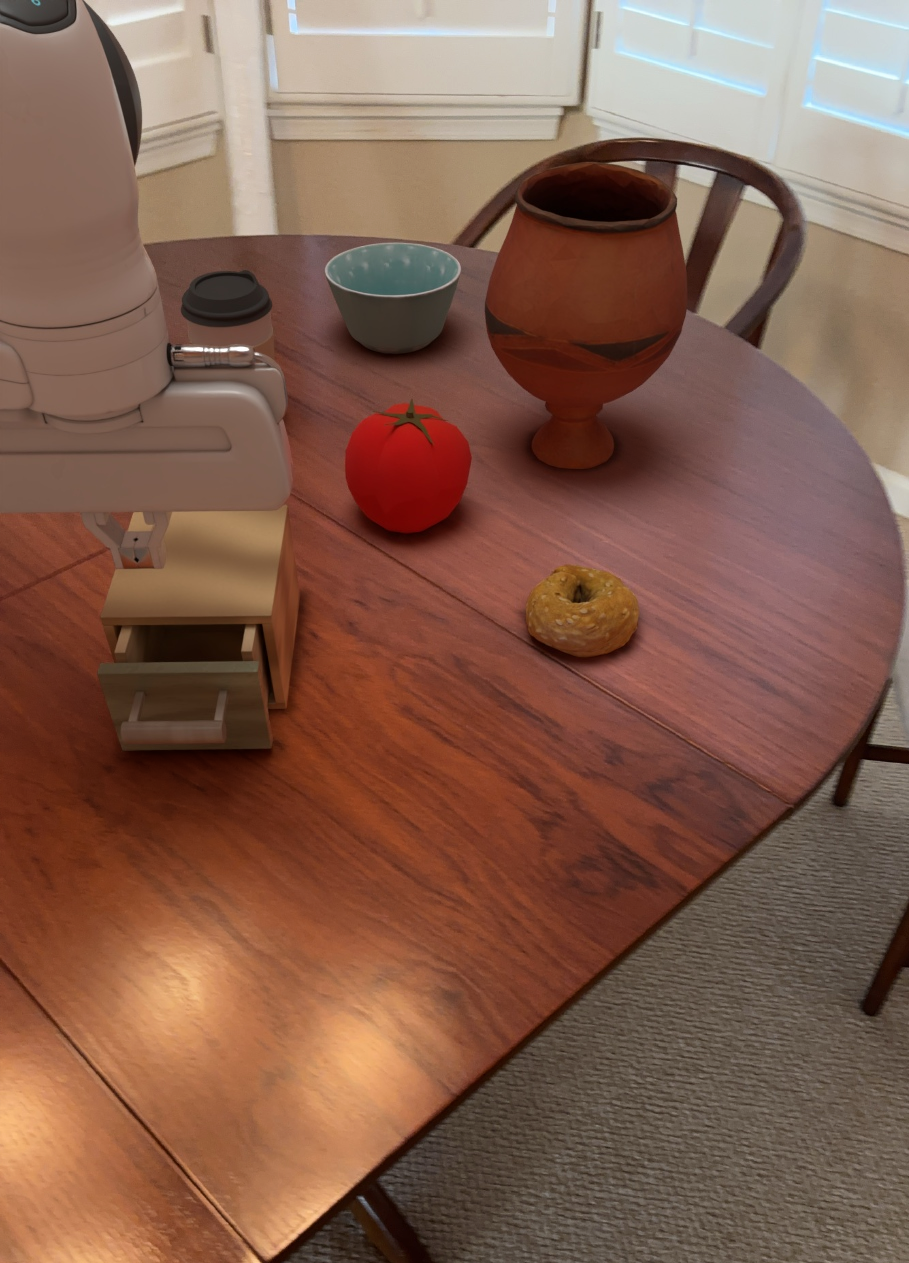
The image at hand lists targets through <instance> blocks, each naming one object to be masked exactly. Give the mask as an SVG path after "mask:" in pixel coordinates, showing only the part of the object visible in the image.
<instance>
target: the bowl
mask: <svg viewBox="0 0 909 1263" xmlns="http://www.w3.org/2000/svg"><path fill="white" fill-rule="evenodd" d="M461 273H462V266H461V264H460V262H459V260H458V259H457V257H455V256H454V255H452V254H451V253H449V252H447V251H445V250H442V249H440V248H437V247H433V246H430V245H425V244H420V243H411V242H380V243H373V244H371V243H370V244H366V245H363V246H357V247H354V248H350V249H348V250H345V251H343V252H341V253H339V254H336V255H335V256H334V257H332V258H331V259H330V260H328V262H327V263H326V264H325V267H324V276H325V278H326V281H327V282H328V286H329V288H330V291H331V293H332V296H333V298H334V301H335V303H336V306H337V308H338V310H339V313H340V314H341V317H342V319H343V321H344V323H345V326H346V328H347V330H348V333H349V334H350V336H351V337H352V338H353V339H354V340H355V341H357V342H358V343H359V344H360V345H362V346H363V347H364V348H366V349H368V350H370V351H373V352H377V353H381V354H389V355H391V354H392V355H393V354H394V355H397V354H398V355H400V354H408V353H413V352H417V351H420V350H422V349H425V348H426V347H427V346H429V345H430V344H431V343H432V342H433V341H434V340H435V339H437V338H438V337H439V336H440V334H441V333H442V332H443V329H444V326H445V323H446V320H447V317H448V314H449V310H450V308H451V305H452V303H453V300H454V296H455V294H456V289H457V287H458V283H459V280H460V277H461Z"/></svg>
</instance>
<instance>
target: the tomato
mask: <svg viewBox="0 0 909 1263" xmlns="http://www.w3.org/2000/svg"><path fill="white" fill-rule="evenodd" d="M413 399H414V398H413V397H411V399H410V401H409V403H408V402H407V403H406V402H404V403H397V404H396V403H395V404H392V405H391V406H390V407H389V408H387V409H386V410H385V411H383V412H382V411H376V410H372V412H373V414H371V415H369V416H367V417H365V418H363V419H362V420H361V421H360V422H359V423H358V424H357V426H356V427H355V429H354V430H353V432H352V433H351V435H350V438H349V440H348V443H347V446H346V449H345V452H344V453H345V455H344V472H345V473H344V474H345V480H346V485H347V488H348V490H349V493H350V494H351V496H352V498H353V500H354V502H355V504H356V505H357V506H358V507H359V509H360V510H361V512H363V513H364V515H365V516H366V517H367V519H369V520H370V521H372V522H374V524H377V525H379V526H380V527H382V528H383V529H385V530H386V531H389V532H395V533H400V534H413V533H421V532H423V531H425V530H428V529H429V528H431V527H433V526H435V525H437V524H438V523H441V522H443V521H444V520H446V519H447V518H448V517H449V516H450V514H451V513H452V512H453V511H454V509H455V508H456V507H457V506H458V505H459V503H460V502H461V500H462V497H463V495H464V492H465V490H466V488H467V485H468V483H469V477H470V471H471V465H472V460H473V457H472V452H471V447H470V442H469V440H468V439H467V438H466V436H465V435H464V434H463V433H462V431H461V430H460V429H459V427H458V426H457V425H455V424H452V423H451V422H449V421H450V420H448V419H444V418H443V416H442V415H441V414H440V412H438V411H437V410H436V409H434V408H432V407H430V406H424V405H418V404H414V400H413Z"/></svg>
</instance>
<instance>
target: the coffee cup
mask: <svg viewBox="0 0 909 1263" xmlns="http://www.w3.org/2000/svg"><path fill="white" fill-rule="evenodd" d="M181 303H182V304H181V306H180V314H181V316H182V317H183V318H184V321H185V324H186V327H187V328H186V329H187V338H188V342H189V345H209V346H215V347H216V346H220V347H221V346H228V345H232V344H244V345H250V346H253V347H254V350H255V352H258V353H262V354H264V355H267V356H268V357H270V358H271V359H273V360H274V361H275V357H276V356H275V338H274V336H275V335H274V327H273V325H272V309H273V300H272V299H271V297H270V293H269V291H268V289H266V288H265V287H264V286H263V285H262V284H260V283H259V281H258V279H257V277H256V275H255V274H254V273H253V272H252V271H250V270H249V269H243V270H240V271H235V270H218V271H212V272H207V273H204V274H202V275H199V276H197V277H196V278H194V279H192V281H191V282H190V284H189V287H188V288H187V289H186V291H185V292H184V293H183V294H182V297H181ZM275 362H276V361H275ZM255 363H263V362H261V361H257V360H255Z"/></svg>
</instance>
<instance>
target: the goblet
mask: <svg viewBox="0 0 909 1263" xmlns="http://www.w3.org/2000/svg"><path fill="white" fill-rule="evenodd" d="M514 202H515V204H516V205H515V208H514V209H515V210H514V212H513V216H512V218H511V223H510V225H509V227H508V230H507V233H506V236H505V239H504V241H503V242H502V245H501V247H500V249H499V251H498V254H497V256H496V259H495V263H494V265H493V268H492V271H491V274H490V277H489V281H488V284H487V290H486V295H485V300H484V320H485V328H486V333H487V337H488V340H489V343H490V346H491V349H492V352H494V354H495V356H496V357H497V360H498V361H499V362H500V364H501V366H502V367H503V369H504V370H505V371H506V373H507V374H508V375H509V376H510V377H511V378H512V379H513V381H515V383H516V384H518V385H519V386H520V387H521V388H522V389H523V390H525V391H526V392H527V393H528V394H529V395H531V396H533V397H535V398H536V399H538V400H541V401H542V402H545V403H544V407H545V409H546V411H548V412H549V414H551V417H550V418H549V419H548V420H547V421H545V423H544V424H542V426H541V427H540V428H539V429H538V430H537V432H536V433H535V435H534V436H533V438H532V440H531V450H532V452H533V454H534V455H535V456H536V458H537V459H538V460H539V461H540V462H543V463H545V464H546V465H548V466H550V467H551V466H552V467H555V468H561V469H572V470H586V469H591V468H595V467H598V466H600V465H601V464H604V463H606V462H607V461H608V460H609V459H610V458H611V456H613V453H614V449H615V442H614V438H613V435H612V434H611V432H610V431H609V429H608V428H607V426H606V425H605V424H604V423H603V422H602V420H600V419H599V417H598V416H597V415H598V414H599V413H601V411H602V410H603V409H604V404H608V403H611V402H614V401H616V400H618V399H620V398H622V397H624V396H626V395H628V394H631V393H632V392H633V391H635V390H637V389H638V388H639V387H642V386H643V384H645V383H646V382H647V381H649V379H650V378H651V377H652V376H653V375H654V374H655V373H656V372H657V371H658V370H659V369H660V368H661V367H662V365H663V364H664V363H665V362H666V361H667V360H668V358H669V357H670V355H671V353H672V351H673V350H674V348H675V346H676V344H677V342H678V340H679V338H680V336H681V334H682V331H683V326H684V323H685V320H686V315H687V310H688V275H687V274H688V273H687V267H686V260H685V254H684V248H683V242H682V238H681V237H682V236H681V233H680V227H679V226H680V225H679V221H678V215H677V207H678V197H677V196H676V194H675V192H674V191H673V190H672V188H670V186H669V185H668V184H667V183H665V182H664V181H663V180H661V179H660V178H659V177H657V176H654V175H651V174H649V173H647V172H644V171H641V170H639V169H636V168H632V167H628V166H623V165H620V164H616V163H615V164H614V163H609V162H608V163H607V162H598V161H583V162H582V161H581V162H576V163H570V164H568V163H567V164H563V165H558V166H554V167H549V168H547V169H544V170H541V171H538V172H535V173H533V174H530V175H529V176H527V177H525V179H523V181H521V183H519V184H518V186H517V188H516V191H515V194H514Z"/></svg>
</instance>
